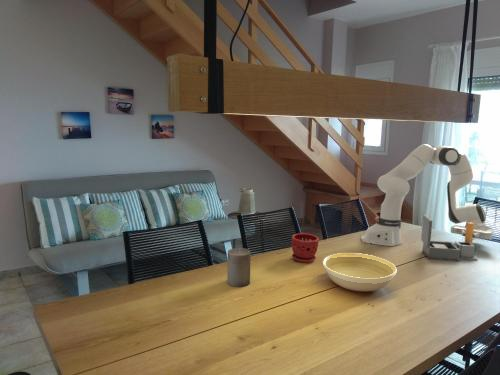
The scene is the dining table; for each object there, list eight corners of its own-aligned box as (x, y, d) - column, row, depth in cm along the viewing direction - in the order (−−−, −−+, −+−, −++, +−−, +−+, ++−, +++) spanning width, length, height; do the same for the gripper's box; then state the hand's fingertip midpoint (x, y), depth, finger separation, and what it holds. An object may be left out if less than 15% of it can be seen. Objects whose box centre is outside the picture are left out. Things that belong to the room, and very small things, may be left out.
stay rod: (464, 252, 208) (467, 223, 206) (462, 250, 212) (465, 222, 209) (472, 252, 207) (475, 224, 205) (469, 250, 211) (472, 222, 209)
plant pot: (289, 263, 186) (290, 239, 185) (293, 254, 199) (293, 232, 197) (316, 265, 183) (317, 241, 182) (318, 257, 196) (319, 234, 194)
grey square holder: (456, 258, 197) (457, 245, 196) (450, 252, 207) (451, 240, 206) (477, 260, 195) (478, 247, 194) (470, 254, 205) (471, 241, 204)
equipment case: (426, 258, 196) (429, 220, 193) (420, 250, 210) (423, 214, 207) (458, 261, 193) (462, 222, 190) (450, 252, 207) (453, 216, 204)
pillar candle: (252, 279, 165) (253, 246, 163) (246, 288, 156) (247, 253, 153) (231, 277, 167) (231, 243, 165) (223, 285, 158) (224, 250, 156)
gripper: (453, 221, 224) (448, 225, 213) (494, 227, 211) (491, 232, 201) (452, 232, 225) (447, 236, 214) (493, 238, 212) (489, 244, 202)
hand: (468, 234), depth 207 cm, fingers closed on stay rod, 4 cm apart
